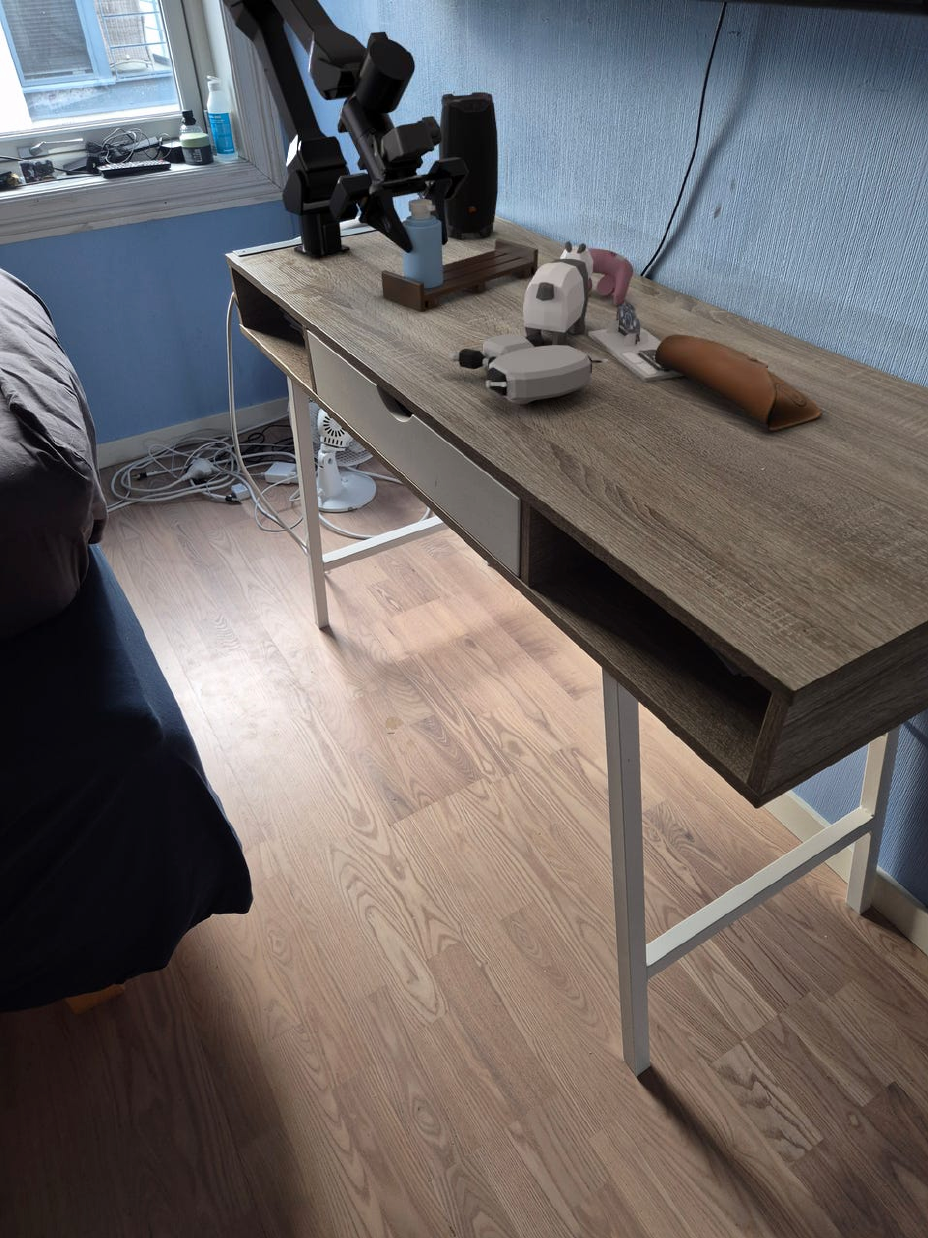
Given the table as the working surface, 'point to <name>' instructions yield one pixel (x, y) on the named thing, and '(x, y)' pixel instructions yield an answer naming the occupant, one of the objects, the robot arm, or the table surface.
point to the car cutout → (632, 345)
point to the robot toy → (528, 367)
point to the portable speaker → (471, 161)
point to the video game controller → (611, 274)
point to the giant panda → (559, 295)
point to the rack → (463, 275)
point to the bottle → (423, 245)
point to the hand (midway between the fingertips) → (428, 247)
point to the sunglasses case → (737, 380)
